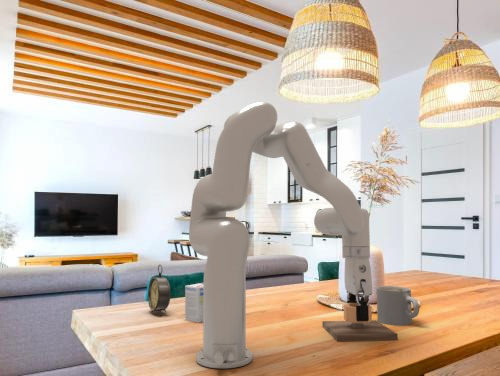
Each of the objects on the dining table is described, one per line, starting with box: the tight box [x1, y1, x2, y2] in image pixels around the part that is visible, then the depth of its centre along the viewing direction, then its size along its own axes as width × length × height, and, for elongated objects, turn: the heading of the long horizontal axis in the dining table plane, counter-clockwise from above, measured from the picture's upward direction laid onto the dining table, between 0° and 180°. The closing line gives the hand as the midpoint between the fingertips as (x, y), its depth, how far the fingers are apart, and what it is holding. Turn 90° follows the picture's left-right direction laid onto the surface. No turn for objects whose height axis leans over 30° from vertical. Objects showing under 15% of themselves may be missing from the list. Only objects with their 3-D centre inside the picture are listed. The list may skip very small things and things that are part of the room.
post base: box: [321, 319, 399, 342], centre depth 114 cm, size 15×16×6 cm
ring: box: [343, 302, 373, 323], centre depth 114 cm, size 7×7×4 cm
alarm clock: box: [147, 264, 172, 317], centre depth 138 cm, size 11×5×16 cm, turn 31°
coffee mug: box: [376, 285, 420, 327], centre depth 125 cm, size 13×10×10 cm
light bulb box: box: [184, 282, 204, 324], centre depth 131 cm, size 11×7×11 cm, turn 141°
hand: (357, 317), depth 114 cm, fingers closed on ring, 7 cm apart
